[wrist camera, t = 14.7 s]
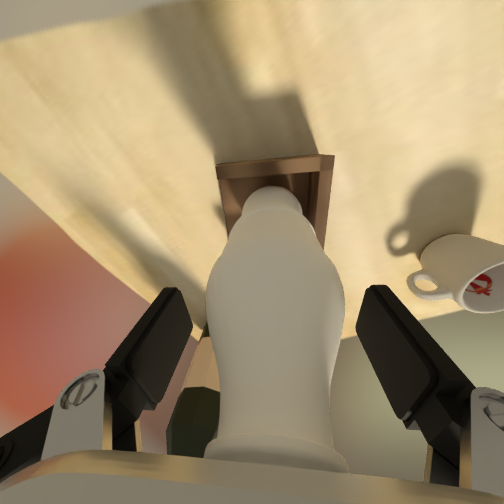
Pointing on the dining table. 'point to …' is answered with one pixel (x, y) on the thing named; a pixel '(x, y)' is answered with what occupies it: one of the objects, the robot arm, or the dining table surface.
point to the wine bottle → (196, 405)
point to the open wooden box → (280, 185)
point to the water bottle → (275, 338)
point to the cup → (463, 272)
